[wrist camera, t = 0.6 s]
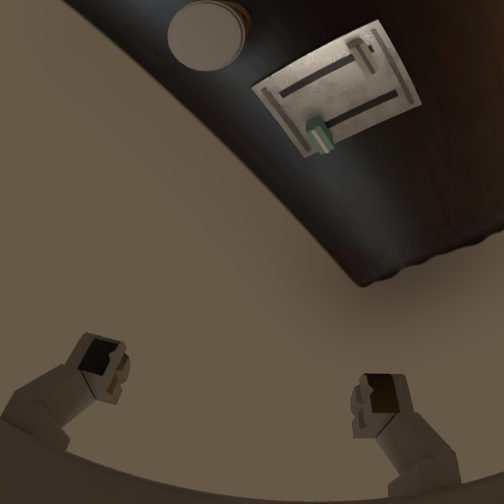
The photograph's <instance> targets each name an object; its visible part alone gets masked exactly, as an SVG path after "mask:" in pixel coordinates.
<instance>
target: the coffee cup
mask: <svg viewBox="0 0 504 504" xmlns="http://www.w3.org/2000/svg"><path fill="white" fill-rule="evenodd" d="M251 27H252V22H251V17H250V15H249V13H248V12H247V10H246V9H245V8H244V7H242V6H241V5H239V4H237V3H234V2H229V1H211V0H203V1H197V2H193V3H191V4H188V5H187V6H185V7H183V8H182V9H181V10H179V11H178V12H177V13H176V15H175V16H174V17H173V19H172V21H171V23H170V25H169V29H168V43H169V46H170V49H171V51H172V53H173V54H174V56H175V57H176V58H177V59H178V60H179V61H180V62H181V63H182V64H184V65H186V66H187V67H189V68H192V69H195V70H200V71H213V70H217V69H221V68H223V67H225V66H227V65H229V64H230V63H231V62H233V61H234V60H235V59H236V58H237V57H238V55H239V54H240V52H241V51H242V48H243V46H244V44H245V42H246V40H247V38H248V36H249V34H250V31H251Z"/></svg>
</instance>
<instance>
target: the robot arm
mask: <svg viewBox="0 0 504 504" xmlns="http://www.w3.org/2000/svg"><path fill="white" fill-rule="evenodd" d="M125 350H126V346H125V343H124V342H121V341H117V340H113V339H109V338H105V337H102V336H98V335H95V334H91V333H87V332H86V333H84V334H83V335H82V336H81V338H80V340H79V341H78V343H77V344H76V346H75V348H74V350H73V351H72V353H71V355H70V356H69V358H68V360H67V362H66V363H65V365H63V364H61V365H59V366H57V367H55V368H54V369H52V370H50V371H48V372H47V373H45V374H44V375H42V376H40V377H38V378H36V379H35V380H33V381H31V382H30V383H28V384H26V385H24V386H23V387H21V388H19V389H18V390H16V391H15V392H14V393H13V395H12V397H11V399H10V400H9V402H8V404H7V406H6V408H5V409H4V411H3V413H2V415H1V417H0V504H504V472H500V473H498V474H494V475H491V476H488V477H485V478H481V479H478V480H474V481H471V482H467V483H463V484H462V483H461V477H460V472H459V467H458V462H457V458H456V453H455V452H454V451H453V450H452V449H451V447H450V446H449V445H448V444H447V443H445V441H444V440H443V439H442V438H441V437H440V436H439V435H438V434H437V432H436V431H435V430H434V429H433V428H432V427H431V426H430V425H429V424H428V423H427V422H426V421H425V420H424V419H423V418H422V417H421V415H420V414H419V413H417V412H416V413H414V409H413V405H412V401H411V397H410V392H409V388H408V384H407V380H406V377H405V376H404V374H368V373H364V374H363V375H362V376H361V377H360V379H359V381H360V384H359V385H358V386H356V387H355V388H354V390H353V392H352V397H351V412H352V413H353V414H354V415H355V416H356V417H355V418H354V420H353V421H352V427H353V438H376V439H375V440H376V441H377V442H378V444H379V446H380V447H381V448H382V450H383V451H384V453H385V454H386V456H387V457H388V459H389V460H390V461H391V463H392V464H393V466H394V467H395V469H396V470H397V472H398V473H399V475H400V476H399V477H397V478H396V479H395V480H393V481H392V482H391V483H390V484H389V485H388V497H387V498H378V499H368V500H355V501H354V500H353V501H328V502H302V501H277V500H264V499H252V498H243V497H235V496H228V495H221V494H214V493H208V492H202V491H197V490H192V489H187V488H182V487H177V486H173V485H169V484H164V483H160V482H156V481H152V480H149V479H145V478H141V477H138V476H134V475H131V474H128V473H125V472H121V471H118V470H115V469H112V468H109V467H106V466H103V465H101V464H98V463H95V462H92V461H90V460H87V459H84V458H82V457H79V456H77V455H74V454H72V453H69V452H67V451H66V450H67V447H68V445H69V442H70V439H69V437H68V435H67V434H66V433H65V432H64V431H63V429H62V427H63V426H65V425H66V424H67V423H68V422H70V421H71V420H72V419H73V418H75V417H76V416H77V415H78V414H80V413H81V412H82V411H83V410H85V409H86V408H87V407H88V406H90V405H91V404H92V403H93V402H95V399H96V400H99V401H103V402H106V403H110V404H114V405H116V404H117V402H118V399H119V397H120V395H121V392H122V389H121V384H122V383H124V382H125V381H126V380H127V377H128V375H129V371H130V360H129V356H127V355H126V354H125V353H124V352H125Z"/></svg>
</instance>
